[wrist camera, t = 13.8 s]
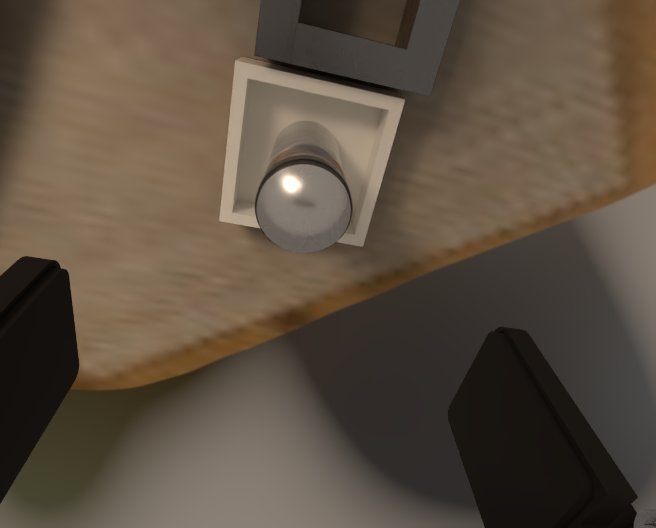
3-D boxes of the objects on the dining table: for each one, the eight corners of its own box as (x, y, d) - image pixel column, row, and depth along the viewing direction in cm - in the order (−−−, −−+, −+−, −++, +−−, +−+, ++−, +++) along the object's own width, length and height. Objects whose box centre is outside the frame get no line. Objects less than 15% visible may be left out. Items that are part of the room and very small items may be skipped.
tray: (242, 56, 24) (235, 60, 21) (396, 92, 25) (405, 99, 23) (226, 204, 28) (219, 221, 26) (359, 229, 29) (362, 246, 27)
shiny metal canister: (277, 111, 25) (261, 153, 17) (347, 126, 25) (363, 174, 17) (266, 180, 27) (248, 246, 19) (332, 193, 27) (340, 262, 19)
